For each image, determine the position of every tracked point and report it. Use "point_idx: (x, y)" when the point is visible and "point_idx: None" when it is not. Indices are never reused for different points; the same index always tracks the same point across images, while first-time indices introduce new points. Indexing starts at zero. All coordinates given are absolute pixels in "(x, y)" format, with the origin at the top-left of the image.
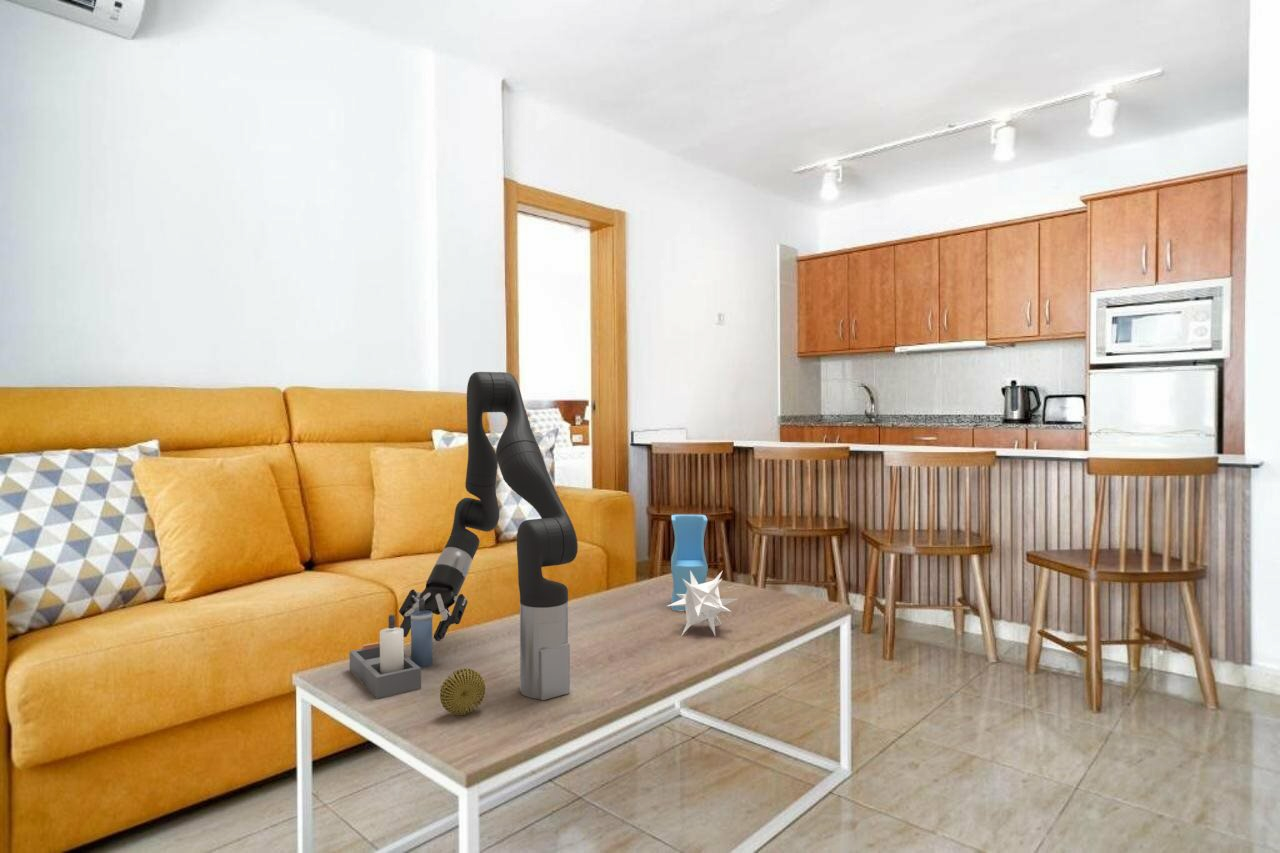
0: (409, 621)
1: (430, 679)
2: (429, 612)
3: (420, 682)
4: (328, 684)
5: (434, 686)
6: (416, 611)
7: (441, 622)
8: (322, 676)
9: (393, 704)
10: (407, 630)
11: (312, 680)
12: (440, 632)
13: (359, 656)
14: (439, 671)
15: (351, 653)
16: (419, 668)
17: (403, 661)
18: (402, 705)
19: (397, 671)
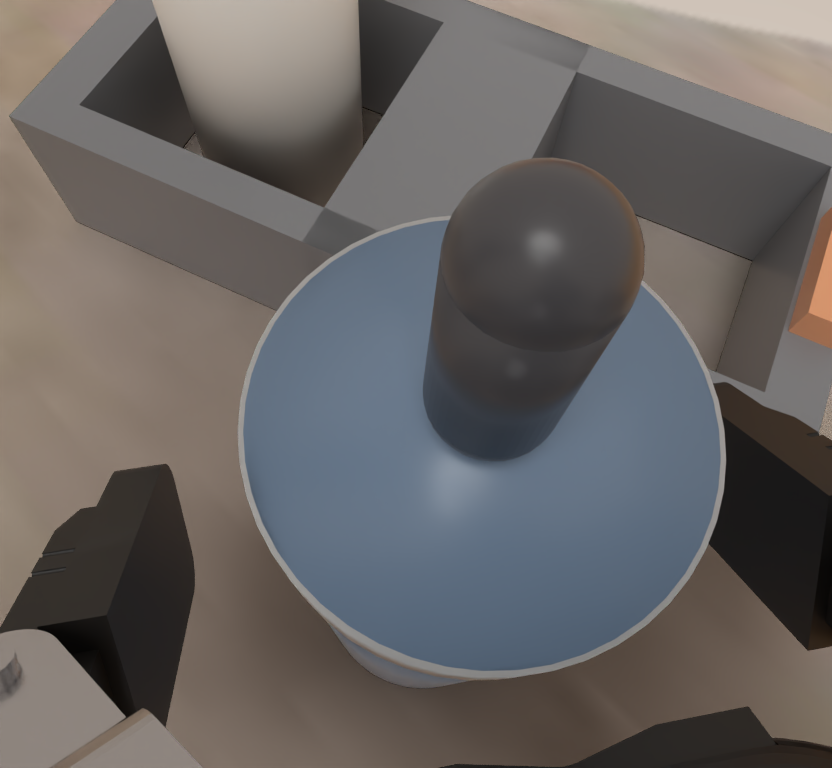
0: (794, 531)
1: (121, 369)
2: (378, 558)
3: (60, 190)
4: (670, 58)
5: (6, 286)
6: (718, 481)
7: (70, 606)
8: (828, 118)
9: (88, 17)
10: None
11: (808, 61)
12: (79, 535)
13: (692, 105)
14: None
15: (827, 137)
16: (18, 108)
17: (178, 70)
18: (28, 25)
19: (146, 11)
